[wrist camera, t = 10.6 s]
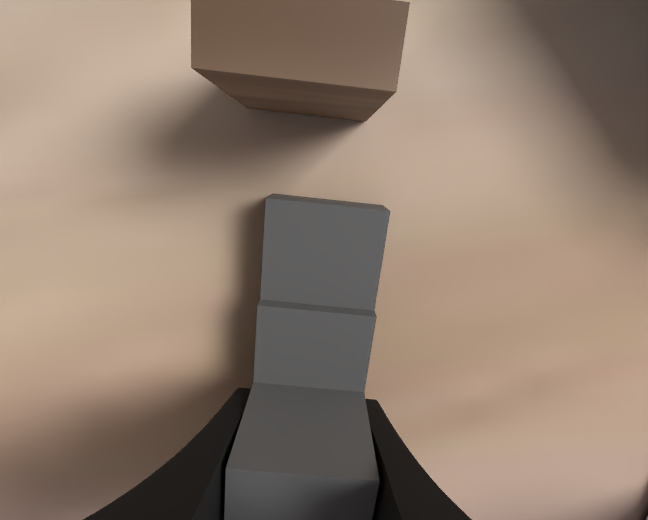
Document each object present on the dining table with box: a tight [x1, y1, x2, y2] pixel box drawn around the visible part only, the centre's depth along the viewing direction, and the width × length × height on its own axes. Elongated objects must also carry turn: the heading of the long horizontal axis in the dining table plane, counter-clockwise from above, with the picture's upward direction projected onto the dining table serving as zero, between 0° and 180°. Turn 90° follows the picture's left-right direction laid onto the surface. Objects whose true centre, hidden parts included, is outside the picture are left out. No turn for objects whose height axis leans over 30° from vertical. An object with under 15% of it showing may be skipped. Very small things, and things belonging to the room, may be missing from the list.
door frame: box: [191, 0, 410, 121], centre depth 9 cm, size 2×22×5 cm, turn 84°
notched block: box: [224, 194, 390, 520], centre depth 11 cm, size 10×4×6 cm, turn 174°
